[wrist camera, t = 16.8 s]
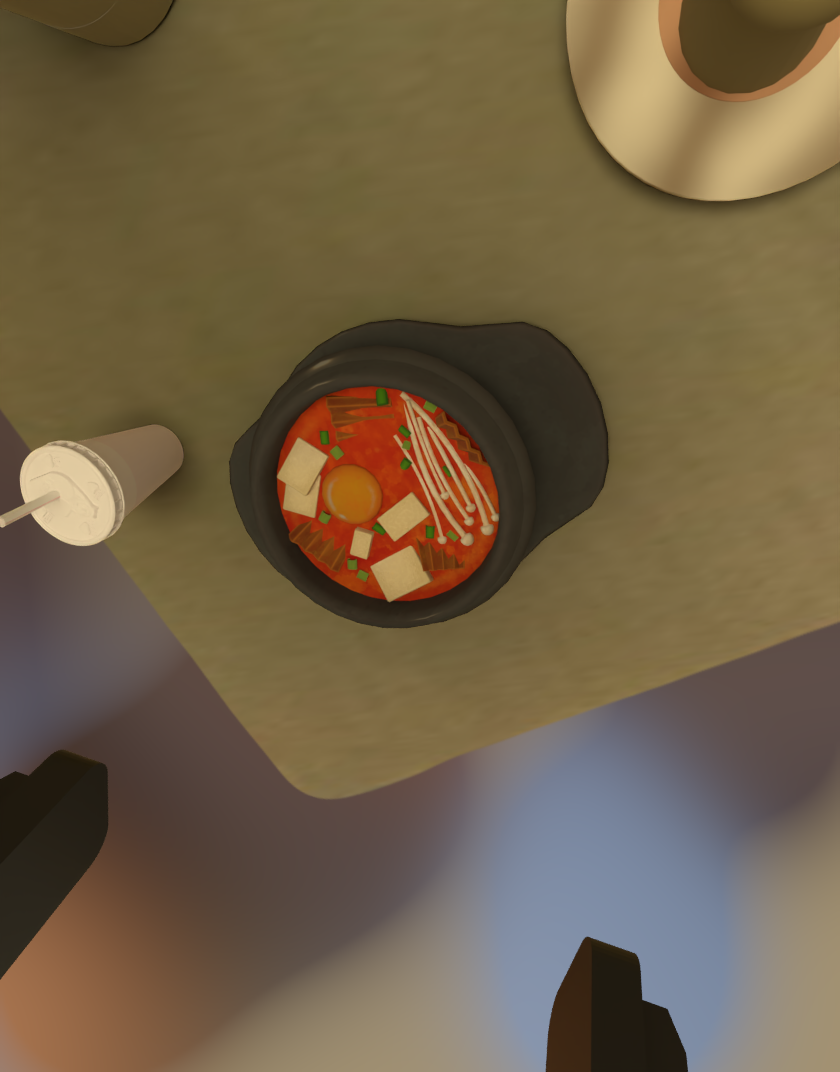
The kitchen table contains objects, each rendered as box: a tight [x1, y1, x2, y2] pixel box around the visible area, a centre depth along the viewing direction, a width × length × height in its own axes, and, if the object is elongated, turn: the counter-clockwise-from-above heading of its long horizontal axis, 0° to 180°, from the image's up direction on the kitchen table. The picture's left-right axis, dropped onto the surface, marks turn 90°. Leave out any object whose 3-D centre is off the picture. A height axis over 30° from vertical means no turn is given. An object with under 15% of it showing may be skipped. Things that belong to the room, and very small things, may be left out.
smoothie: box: [0, 424, 184, 546], centre depth 42 cm, size 6×6×14 cm
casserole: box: [229, 319, 609, 628], centre depth 41 cm, size 25×19×8 cm
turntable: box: [566, 0, 840, 201], centre depth 30 cm, size 16×16×3 cm
